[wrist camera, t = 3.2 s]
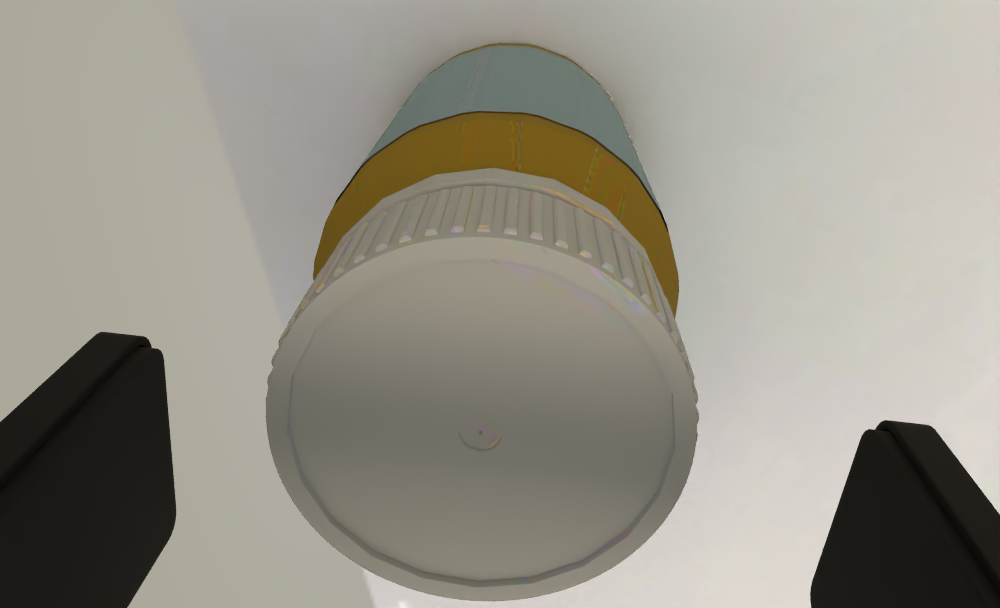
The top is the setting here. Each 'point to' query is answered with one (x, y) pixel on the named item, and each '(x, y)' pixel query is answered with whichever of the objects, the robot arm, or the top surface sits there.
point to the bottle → (489, 342)
